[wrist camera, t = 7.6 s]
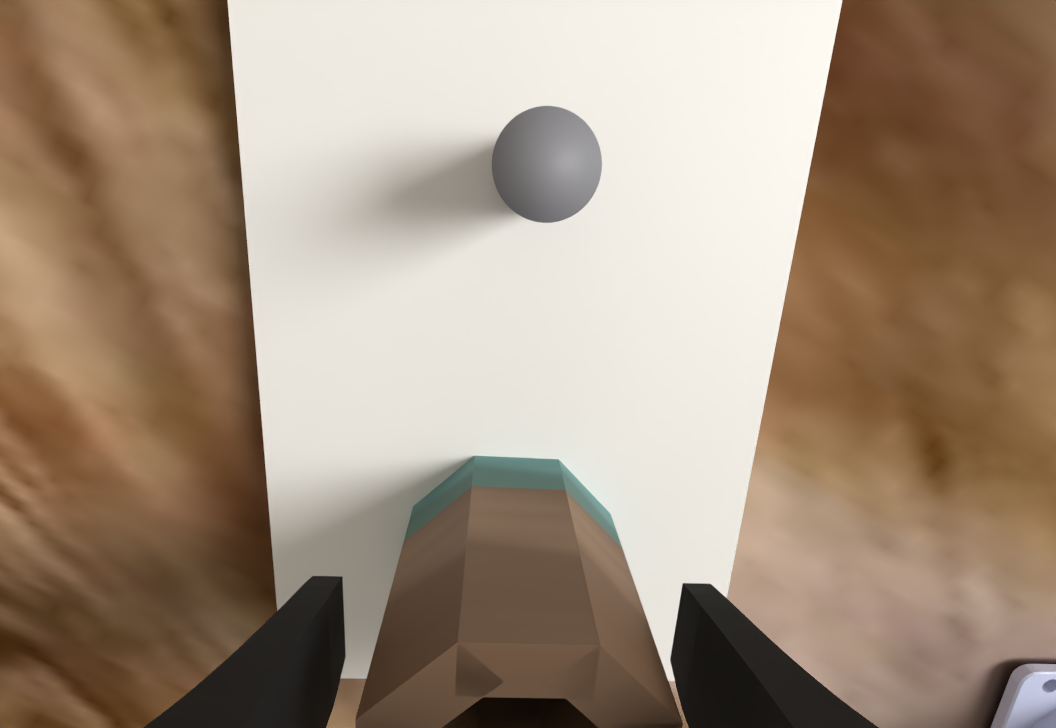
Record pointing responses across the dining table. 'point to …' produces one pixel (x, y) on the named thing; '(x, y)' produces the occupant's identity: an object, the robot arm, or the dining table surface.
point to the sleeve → (514, 612)
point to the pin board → (519, 264)
